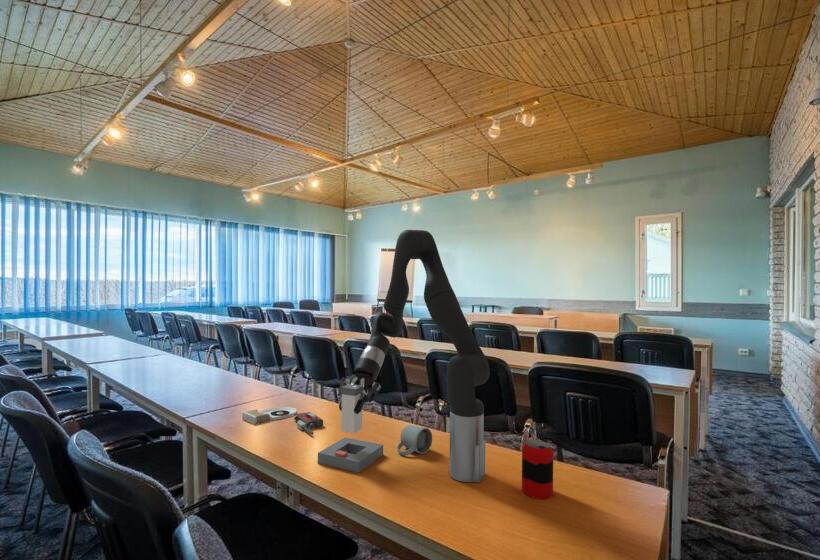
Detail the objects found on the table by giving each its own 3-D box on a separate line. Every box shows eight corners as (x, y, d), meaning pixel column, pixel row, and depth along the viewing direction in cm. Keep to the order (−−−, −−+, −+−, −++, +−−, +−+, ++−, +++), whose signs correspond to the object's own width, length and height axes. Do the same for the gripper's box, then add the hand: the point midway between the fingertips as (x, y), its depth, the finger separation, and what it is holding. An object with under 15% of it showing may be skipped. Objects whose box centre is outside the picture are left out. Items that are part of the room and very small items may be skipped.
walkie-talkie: (288, 422, 156) (309, 438, 140) (288, 410, 156) (309, 425, 140) (310, 418, 162) (333, 433, 145) (310, 407, 162) (333, 420, 146)
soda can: (532, 501, 100) (533, 451, 100) (516, 486, 107) (516, 440, 107) (559, 497, 102) (559, 448, 102) (541, 483, 109) (541, 437, 110)
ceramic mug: (414, 443, 137) (414, 419, 137) (433, 450, 131) (433, 425, 131) (390, 452, 129) (391, 427, 129) (409, 460, 123) (409, 434, 123)
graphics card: (240, 411, 159) (286, 401, 174) (240, 419, 159) (286, 409, 174) (256, 417, 152) (302, 407, 167) (256, 426, 152) (302, 414, 167)
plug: (362, 428, 125) (363, 385, 125) (354, 433, 120) (354, 389, 120) (349, 426, 127) (350, 383, 127) (340, 431, 122) (341, 387, 122)
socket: (383, 454, 127) (383, 442, 127) (358, 472, 114) (359, 459, 114) (344, 446, 132) (345, 434, 133) (317, 463, 120) (317, 450, 120)
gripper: (346, 354, 134) (323, 401, 122) (385, 358, 128) (364, 408, 116) (355, 368, 138) (333, 414, 127) (393, 372, 132) (373, 421, 121)
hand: (348, 411), depth 122 cm, fingers closed on plug, 4 cm apart
